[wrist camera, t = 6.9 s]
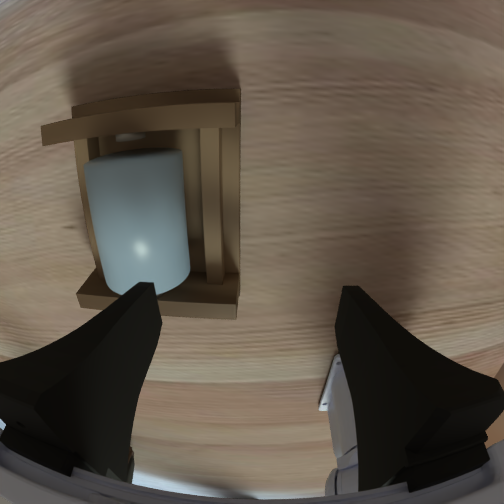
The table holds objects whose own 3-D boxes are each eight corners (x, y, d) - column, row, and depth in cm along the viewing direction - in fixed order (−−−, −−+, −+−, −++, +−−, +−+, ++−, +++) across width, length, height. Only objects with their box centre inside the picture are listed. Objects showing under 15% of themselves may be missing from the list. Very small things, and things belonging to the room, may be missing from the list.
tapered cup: (198, 251, 20) (178, 300, 16) (125, 248, 20) (91, 292, 16) (192, 145, 17) (164, 166, 12) (111, 150, 17) (64, 173, 12)
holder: (240, 288, 23) (236, 329, 19) (107, 281, 23) (84, 316, 19) (240, 89, 16) (235, 86, 12) (79, 105, 16) (39, 112, 12)
